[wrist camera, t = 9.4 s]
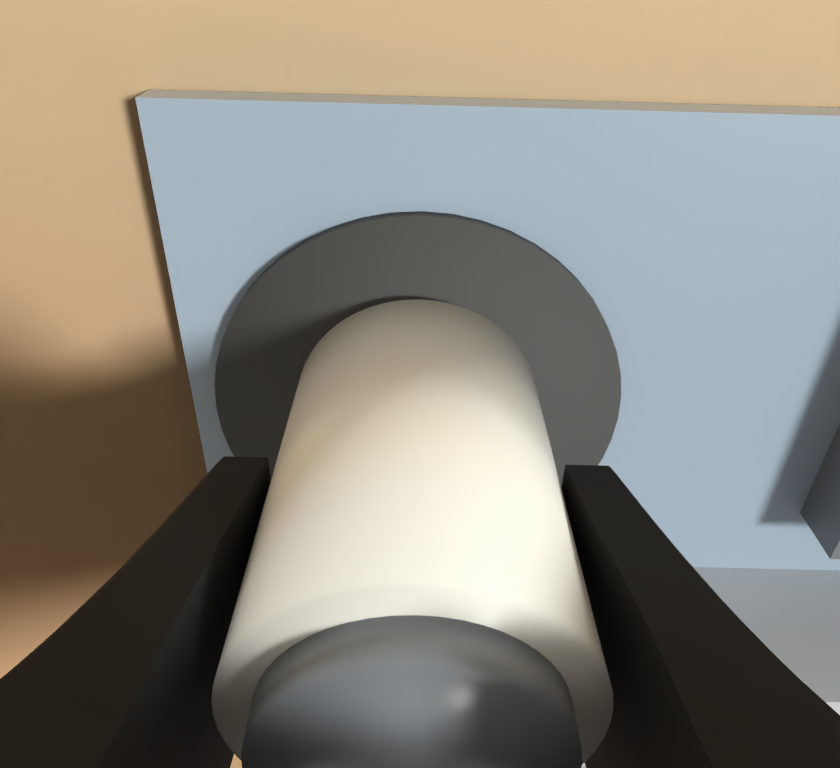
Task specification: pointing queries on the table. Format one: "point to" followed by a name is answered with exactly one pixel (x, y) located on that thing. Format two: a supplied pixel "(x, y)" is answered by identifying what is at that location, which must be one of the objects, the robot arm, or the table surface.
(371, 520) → the cartridge
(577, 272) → the panel
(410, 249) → the rubber pad
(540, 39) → the table surface
